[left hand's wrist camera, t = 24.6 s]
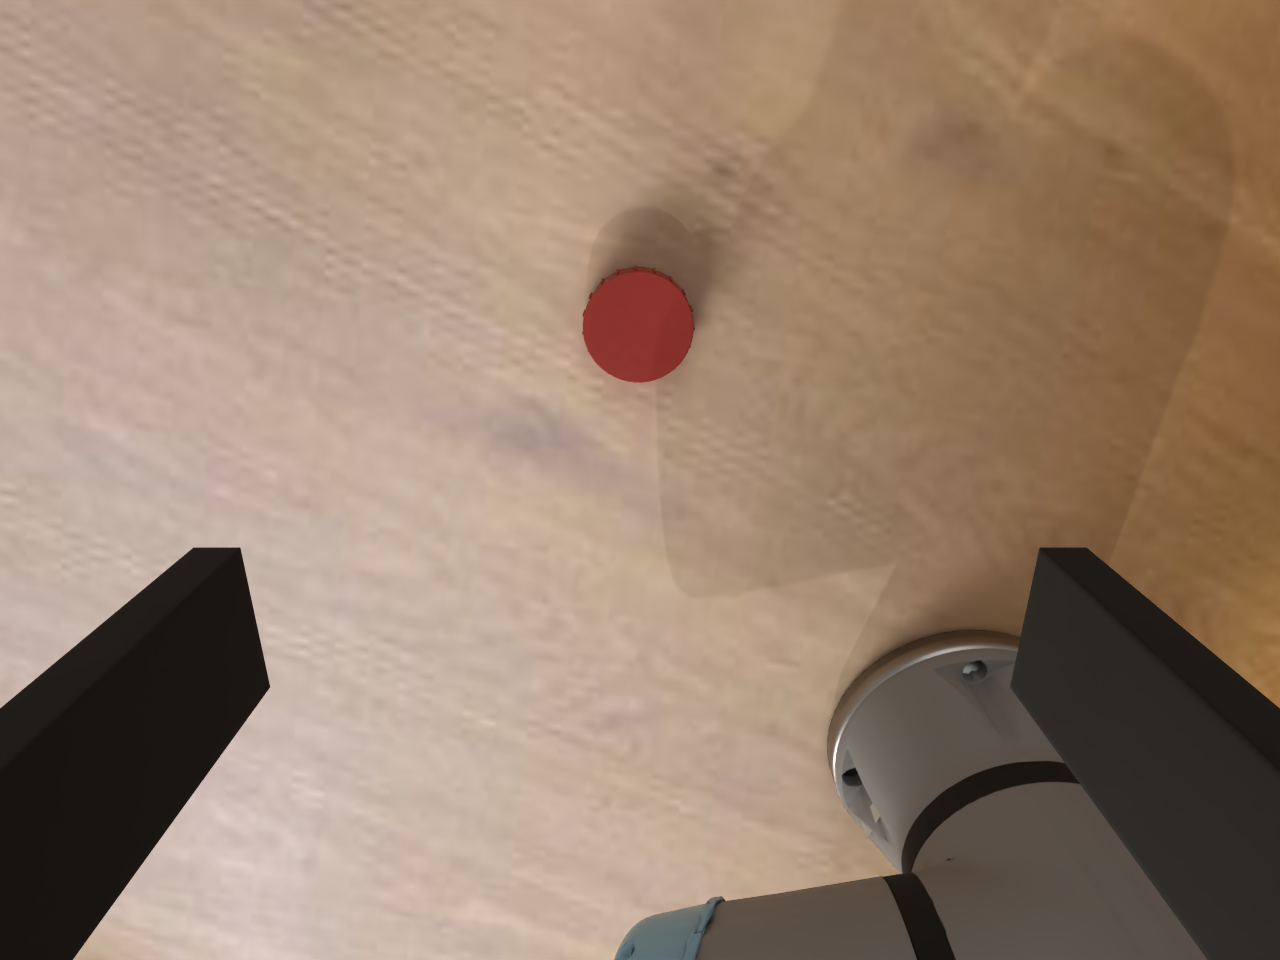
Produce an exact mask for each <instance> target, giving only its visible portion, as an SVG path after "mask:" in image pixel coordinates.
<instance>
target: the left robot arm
mask: <svg viewBox="0 0 1280 960" xmlns="http://www.w3.org/2000/svg"><path fill="white" fill-rule="evenodd" d="M269 688H270V684H269V680H268V675H267V670H266V666H265V661H264V656H263V652H262V647H261V642H260V638H259V633H258V628H257V624H256V619H255V614H254V610H253V605H252V600H251V596H250V591H249V586H248V582H247V577H246V572H245V568H244V563H243V558H242V554H241V549H240V548H193V549H191V550H190V551H189V552H188V553H187V554H185V555H184V556H183V557H182V558H181V559H179V560H178V561H177V562H176V563H175V564H173V565H172V566H171V567H170V568H169V569H167V570H166V571H165V572H164V573H163V574H161V575H160V576H159V577H158V578H157V579H155V580H154V581H153V582H152V583H151V584H149V585H148V586H147V587H146V588H145V589H143V590H142V591H141V592H140V593H139V594H137V595H136V596H135V597H134V598H133V599H131V600H130V601H129V602H128V603H127V604H125V605H124V606H123V607H122V608H120V609H119V610H118V611H117V612H116V613H114V614H113V615H112V616H111V617H110V618H108V619H107V620H106V621H105V622H104V623H102V624H101V625H100V626H99V627H98V628H96V629H95V630H94V631H93V632H92V633H90V634H89V635H88V636H87V637H86V638H84V639H83V640H82V641H81V642H80V643H78V644H77V645H76V646H75V647H74V648H72V649H71V650H70V651H69V652H68V653H66V654H65V655H64V656H63V657H62V658H60V659H59V660H58V661H57V662H56V663H54V664H53V665H52V666H51V667H50V668H48V669H47V670H46V671H45V672H44V673H42V674H41V675H40V676H39V677H38V678H36V679H35V680H34V681H33V682H32V683H30V684H29V685H28V686H27V687H26V688H24V689H23V690H22V691H21V692H20V693H18V694H17V695H16V696H15V697H14V698H12V699H11V700H10V701H9V702H7V703H6V704H5V705H4V706H3V707H1V708H0V960H73V959H74V957H75V956H76V954H77V953H78V952H79V950H80V949H81V948H82V946H83V945H84V943H85V942H86V941H87V939H88V938H89V936H90V935H91V934H92V932H93V931H94V930H95V928H96V927H97V925H98V924H99V923H100V921H101V920H102V919H103V917H104V916H105V914H106V913H107V912H108V910H109V909H110V907H111V906H112V905H113V903H114V902H115V901H116V899H117V898H118V896H119V895H120V894H121V892H122V891H123V890H124V888H125V887H126V885H127V884H128V883H129V881H130V880H131V878H132V877H133V876H134V874H135V873H136V872H137V870H138V869H139V867H140V866H141V865H142V863H143V862H144V861H145V859H146V858H147V856H148V855H149V854H150V852H151V851H152V849H153V848H154V847H155V845H156V844H157V843H158V841H159V840H160V838H161V837H162V836H163V834H164V833H165V832H166V830H167V829H168V827H169V826H170V825H171V823H172V822H173V820H174V819H175V818H176V816H177V815H178V814H179V812H180V811H181V809H182V808H183V807H184V805H185V804H186V803H187V801H188V800H189V798H190V797H191V796H192V794H193V793H194V792H195V790H196V789H197V787H198V786H199V785H200V783H201V782H202V780H203V779H204V778H205V776H206V775H207V774H208V772H209V771H210V769H211V768H212V767H213V765H214V764H215V763H216V761H217V760H218V758H219V757H220V756H221V754H222V753H223V751H224V750H225V749H226V747H227V746H228V745H229V743H230V742H231V740H232V739H233V738H234V736H235V735H236V734H237V732H238V731H239V729H240V728H241V727H242V725H243V724H244V722H245V721H246V720H247V718H248V717H249V716H250V714H251V713H252V711H253V710H254V709H255V707H256V706H257V705H258V703H259V702H260V700H261V699H262V698H263V696H264V695H265V693H266V692H267V691H268V689H269ZM827 753H828V761H829V766H830V769H831V773H832V776H833V779H834V782H835V785H836V788H837V791H838V794H839V797H840V799H841V801H842V803H843V805H844V807H845V808H846V810H847V811H848V813H849V814H850V815H851V816H852V818H853V819H854V820H855V821H856V823H857V824H858V825H859V826H860V827H861V829H862V830H863V831H864V832H865V835H866V838H868V837H869V838H870V839H871V841H872V842H873V843H874V844H875V845H876V847H877V848H878V849H879V850H880V851H881V852H882V854H883V855H884V856H885V857H886V858H887V860H888V861H889V862H890V863H891V864H892V866H893V867H894V868H895V869H896V870H897V872H898V873H899V874H898V875H891V876H885V877H881V876H880V877H874V878H868V879H862V880H856V881H850V882H844V883H838V884H832V885H826V886H820V887H814V888H808V889H802V890H796V891H790V892H784V893H779V894H772V895H765V896H758V897H751V898H744V899H738V900H731V901H725V900H724V899H723V897H722V896H721V897H714V898H711V899H710V900H709V901H707V903H706V904H702V905H698V906H693V907H689V908H684V909H680V910H675V911H670V912H666V913H661V914H657V915H653V916H650V917H648V918H645V919H643V920H642V921H640V922H639V923H637V924H636V925H635V926H634V927H633V928H632V929H631V930H630V931H629V933H628V934H627V935H626V937H625V938H624V940H623V941H622V943H621V945H620V947H619V949H618V951H617V954H616V956H615V959H614V960H1280V708H1279V707H1277V706H1276V705H1275V704H1274V703H1273V702H1271V701H1270V700H1269V699H1268V698H1266V697H1265V696H1264V695H1263V694H1262V693H1260V692H1259V691H1258V690H1257V689H1256V688H1254V687H1253V686H1252V685H1251V684H1250V683H1248V682H1247V681H1246V680H1245V679H1244V678H1242V677H1241V676H1240V675H1239V674H1238V673H1236V672H1235V671H1234V670H1233V669H1232V668H1230V667H1229V666H1228V665H1227V664H1226V663H1224V662H1223V661H1222V660H1221V659H1220V658H1218V657H1217V656H1216V655H1215V654H1214V653H1212V652H1211V651H1210V650H1209V649H1208V648H1206V647H1205V646H1204V645H1203V644H1202V643H1200V642H1199V641H1198V640H1197V639H1196V638H1194V637H1193V636H1192V635H1191V634H1190V633H1188V632H1187V631H1186V630H1185V629H1184V628H1182V627H1181V626H1180V625H1179V624H1178V623H1176V622H1175V621H1174V620H1173V619H1172V618H1170V617H1169V616H1168V615H1167V614H1166V613H1164V612H1163V611H1162V610H1161V609H1160V608H1158V607H1157V606H1156V605H1155V604H1153V603H1152V602H1151V601H1150V600H1149V599H1147V598H1146V597H1145V596H1144V595H1143V594H1141V593H1140V592H1139V591H1138V590H1137V589H1135V588H1134V587H1133V586H1132V585H1131V584H1129V583H1128V582H1127V581H1126V580H1125V579H1123V578H1122V577H1121V576H1120V575H1119V574H1117V573H1116V572H1115V571H1114V570H1113V569H1111V568H1110V567H1109V566H1108V565H1107V564H1105V563H1104V562H1103V561H1102V560H1101V559H1099V558H1098V557H1097V556H1096V555H1095V554H1093V553H1092V552H1091V551H1090V550H1089V549H1087V548H1040V549H1039V554H1038V558H1037V563H1036V568H1035V572H1034V577H1033V582H1032V586H1031V591H1030V596H1029V600H1028V605H1027V610H1026V614H1025V619H1024V624H1023V628H1022V633H1021V638H1019V637H1015V636H1012V635H1009V634H1004V633H999V632H992V631H981V630H966V631H954V632H947V633H942V634H937V635H932V636H929V637H926V638H922V639H919V640H917V641H914V642H911V643H909V644H906V645H904V646H902V647H900V648H898V649H896V650H894V651H893V652H891V653H889V654H887V655H886V656H884V657H883V658H881V659H880V660H878V661H877V662H876V663H874V664H873V665H872V666H870V667H869V668H868V669H867V670H866V671H864V672H863V673H862V674H861V675H860V676H859V677H858V678H857V679H856V680H855V682H854V683H853V684H852V685H851V686H850V688H849V689H848V690H847V692H846V693H845V694H844V696H843V697H842V699H841V701H840V703H839V704H838V706H837V708H836V710H835V713H834V715H833V718H832V721H831V724H830V728H829V733H828V739H827Z"/></svg>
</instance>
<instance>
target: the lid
mask: <svg viewBox="0 0 1280 960" xmlns="http://www.w3.org/2000/svg"><path fill="white" fill-rule="evenodd" d="M589 299H590V300H589V302H588V305H587V308H586V310H584V313H583V316H584V319H583V332H582V334H583V335H584V340H585V343H586V347H587V349H588V352H589V353H590V355H591V356H592V358H593V360H594V361H595V362H596V363H597V365H598V366H600V367H601V368H602V369H603V370H604V371H605V372H607V373H608V374H610V375H612V376H613V377H615V378H618V379H620V380H624V381H628V382H649V381H653V380H656V379H659V378H661V377H663V376H665V375H667V374H668V373H670V372H671V371H672V370H674V369H675V368H676V367H677V366H678V365H679V364H680V363H681V361H682V360H683V359H684V357H685V356H686V354H687V352H688V350H689V348H690V347H691V346H690V345H691V342H692V338H693V330H695V328H694V324H693V316H692V312H693V310H692V307H691V305H690V306H689V304H688V301H687V299H686V297H685V292H684V290H683V289H682V290H681V289H680V287H679V286H678V285H677V284H676V283H675V282H674V281H673V280H672V277H671V276H669V277H668V276H666V275H665V274H663V273H661V272H659V271H656V269H655V268H653V269H649V268H642V267H637V266H635V267H634V268H627V269H624V270H619V269H618V270H617V272H616V273H613V274H612V275H610V276H609V277H607V278H606V279H605V280H604V279H602V280H601V283H600V284H599V285H598V287H597V288H596V289H595V291H594V292H593V293H591V294H590V296H589Z"/></svg>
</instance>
